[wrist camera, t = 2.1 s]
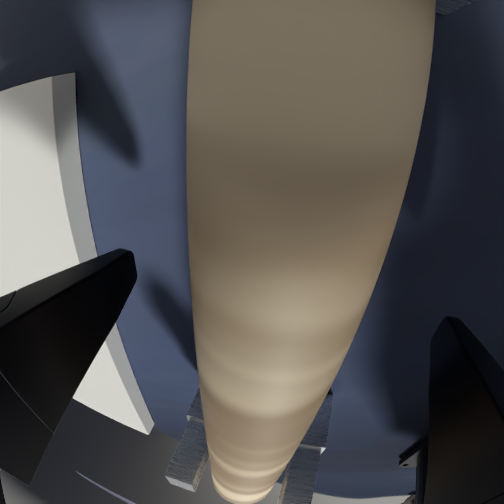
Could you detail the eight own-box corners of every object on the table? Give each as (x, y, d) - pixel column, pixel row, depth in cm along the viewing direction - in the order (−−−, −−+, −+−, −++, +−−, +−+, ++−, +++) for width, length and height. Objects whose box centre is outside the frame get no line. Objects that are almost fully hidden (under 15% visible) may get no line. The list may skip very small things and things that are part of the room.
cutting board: (154, 423, 22) (148, 434, 21) (58, 377, 24) (52, 386, 23) (75, 72, 8) (51, 76, 7) (-36, 106, 10) (-51, 111, 9)
